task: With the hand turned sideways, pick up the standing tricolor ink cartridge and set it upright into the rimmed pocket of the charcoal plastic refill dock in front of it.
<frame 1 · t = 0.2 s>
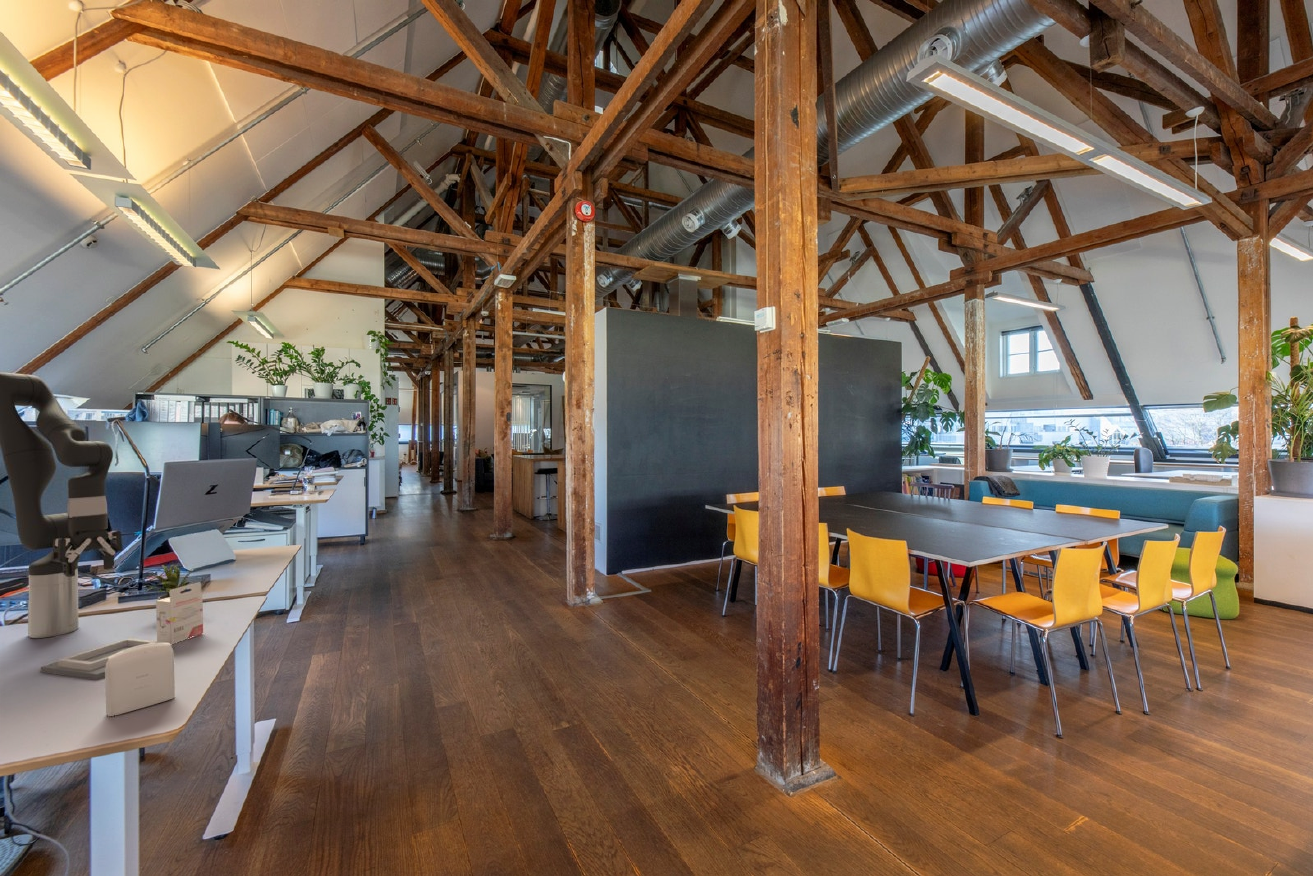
hand: (89, 572, 148), 18 cm above the table, tool pointing down, fingers open, 8 cm apart
house plant: (169, 616, 165), on the table
ink cartridge box: (180, 640, 146), on the table
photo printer: (141, 707, 110), on the table
refill dock: (110, 661, 132), on the table
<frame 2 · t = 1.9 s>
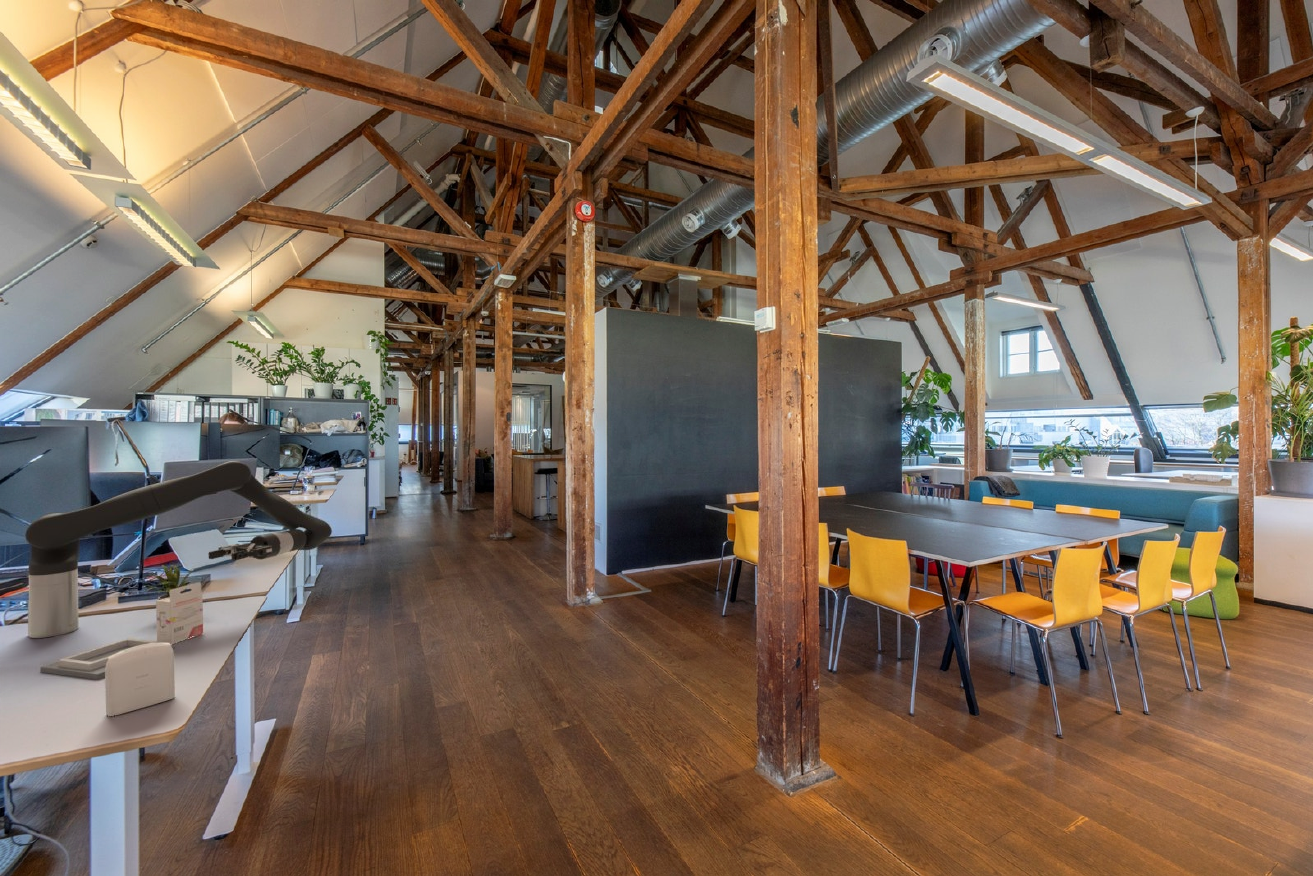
hand: (220, 556, 157), 20 cm above the table, tool horizontal, fingers open, 8 cm apart
nothing on the table moved.
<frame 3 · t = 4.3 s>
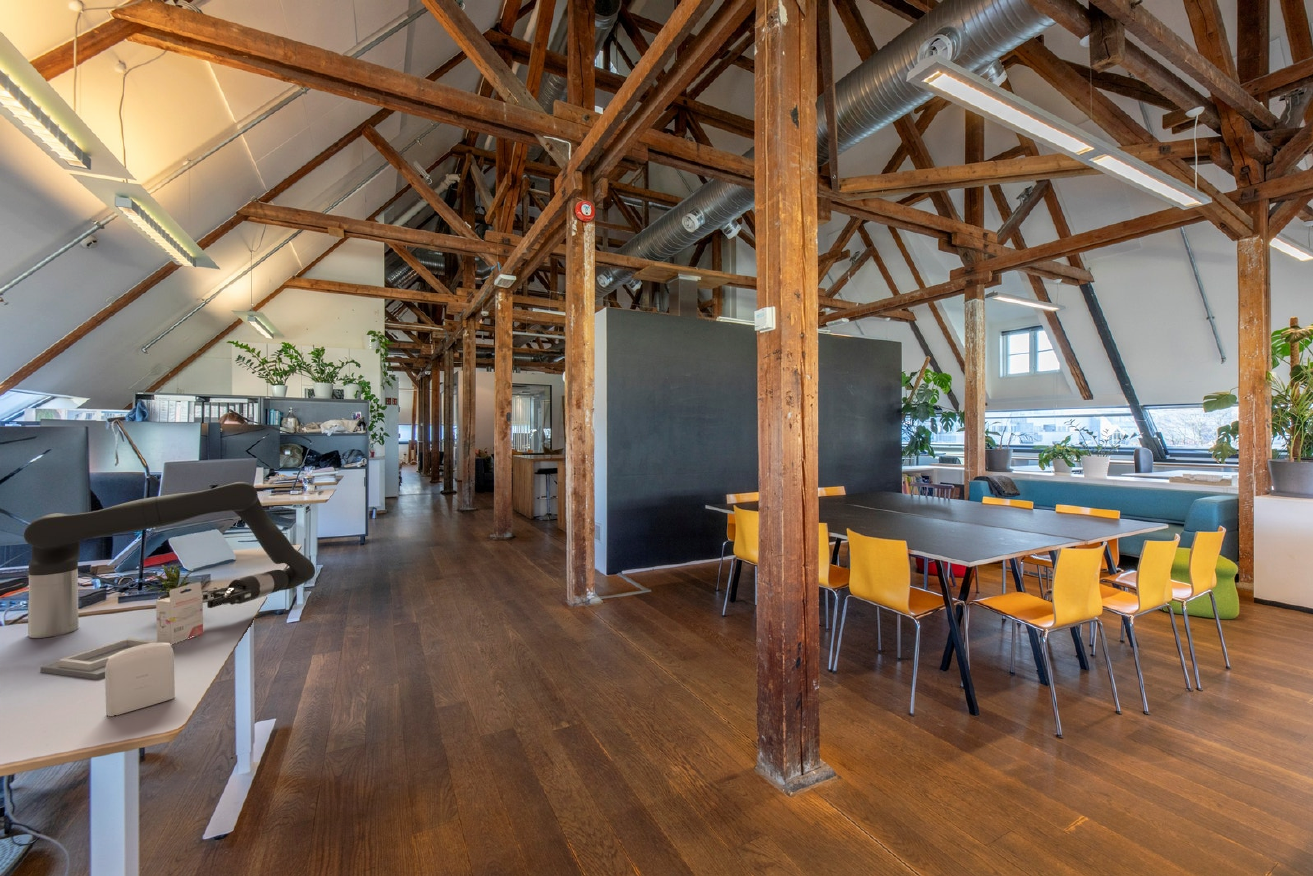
hand: (196, 603, 150), 8 cm above the table, tool horizontal, fingers open, 8 cm apart
nothing on the table moved.
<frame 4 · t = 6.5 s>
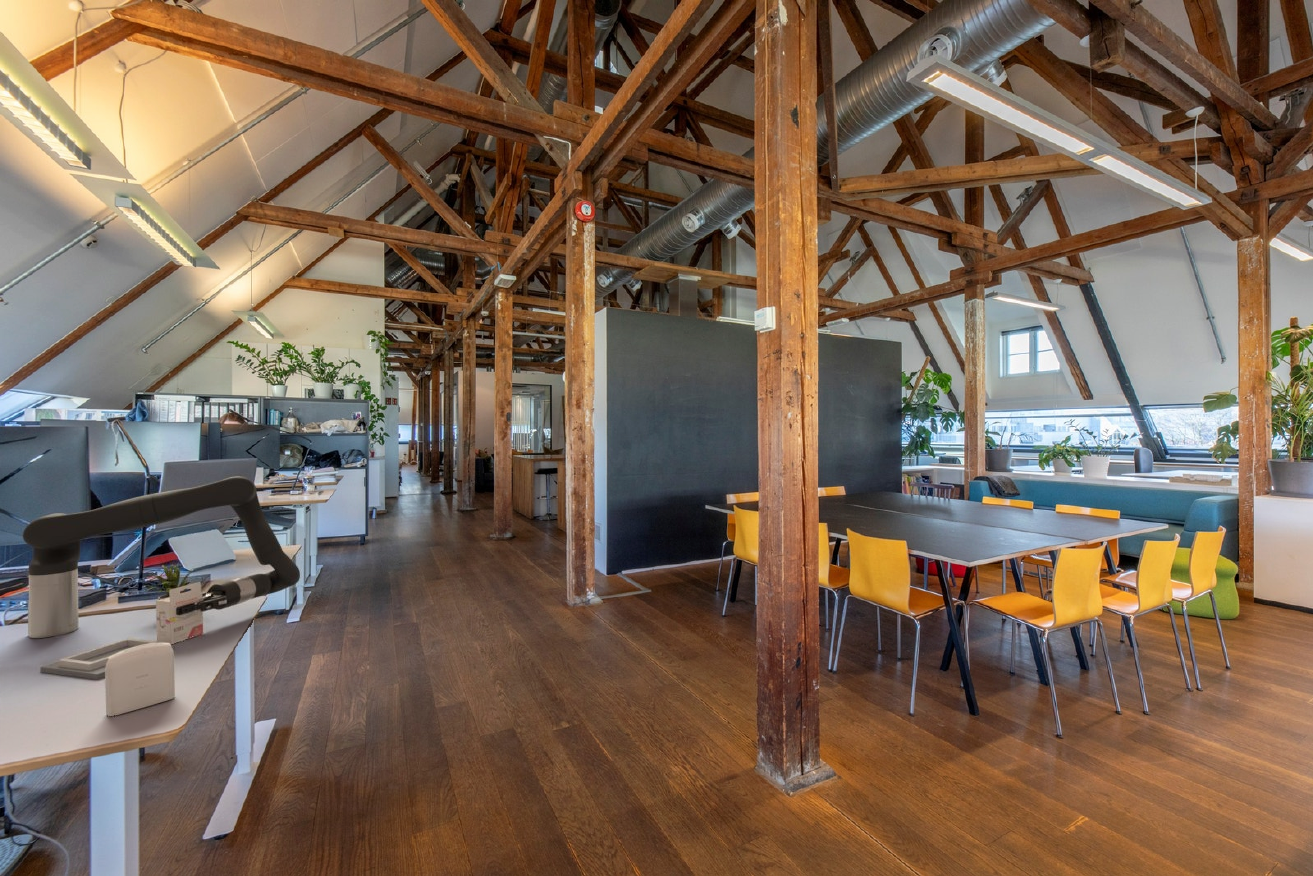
hand: (169, 610, 144), 9 cm above the table, tool horizontal, fingers closed on ink cartridge box, 5 cm apart
ink cartridge box: (180, 639, 146), on the table, touching gripper
everything else where it was.
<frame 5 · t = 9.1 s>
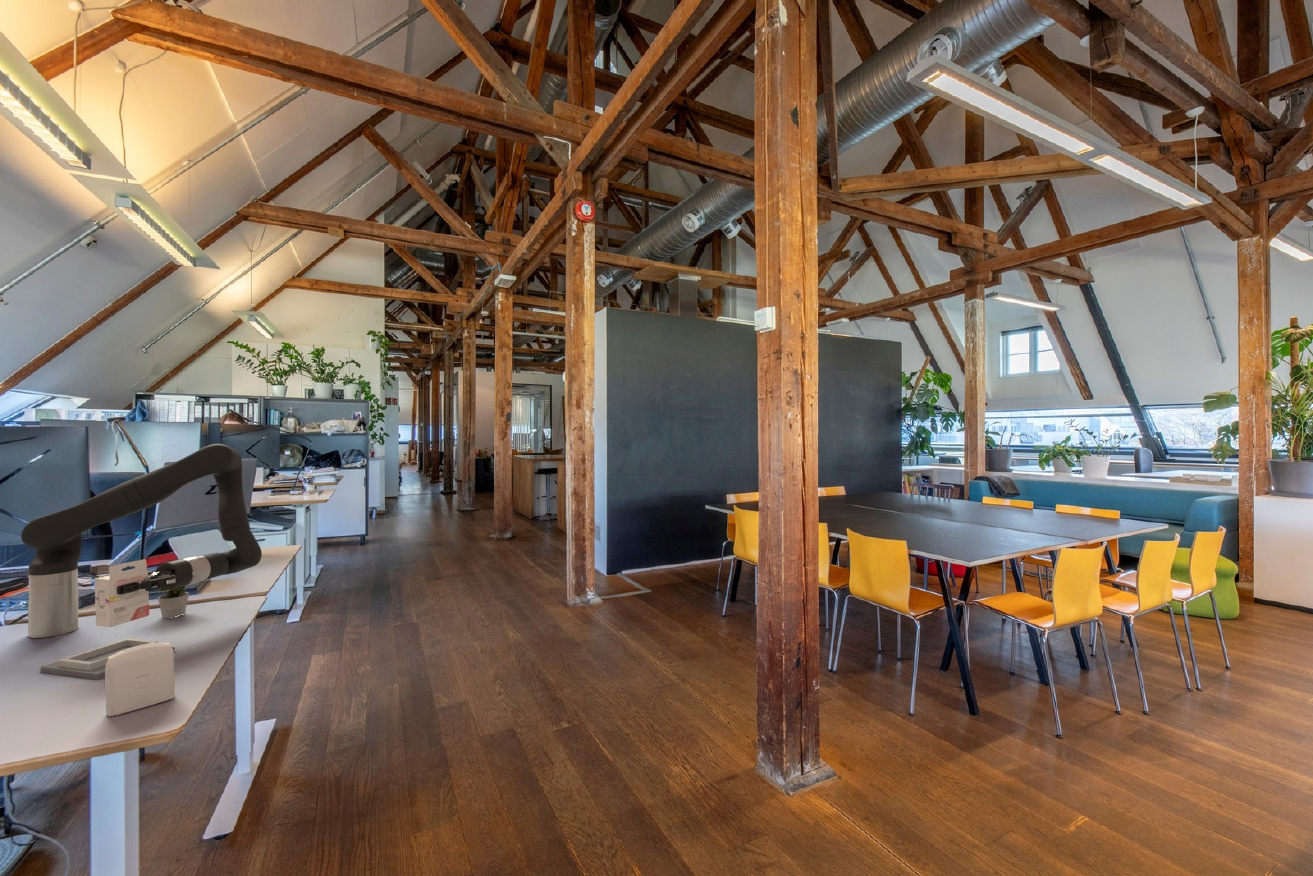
hand: (109, 589, 132), 18 cm above the table, tool horizontal, fingers closed on ink cartridge box, 5 cm apart
ink cartridge box: (122, 621, 134), point 9 cm above the table, touching gripper
everything else where it was.
when the fingers open (11 cm above the table, at t = 11.9 s): ink cartridge box stays where it is, resting on refill dock.
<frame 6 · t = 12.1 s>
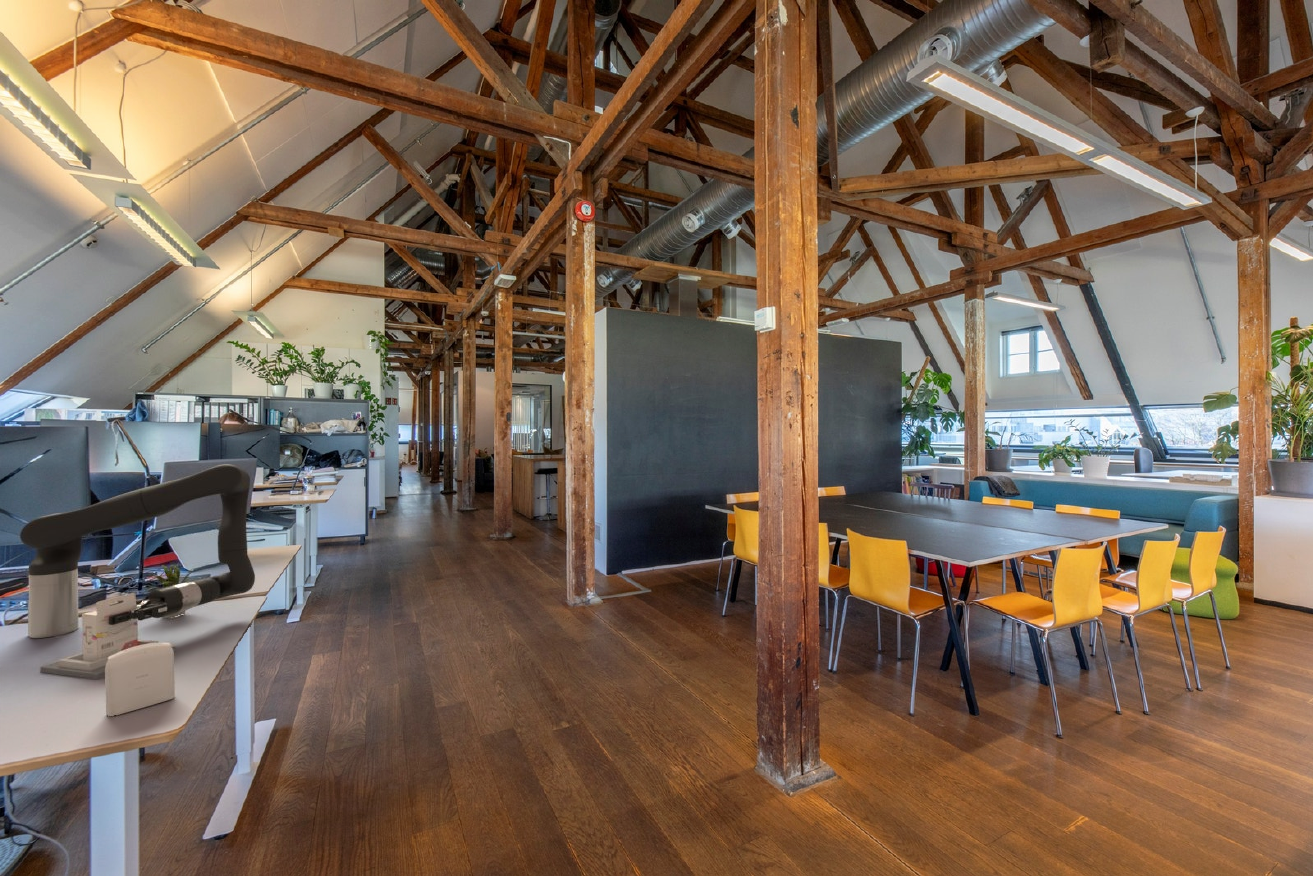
hand: (98, 619, 130), 11 cm above the table, tool horizontal, fingers open, 6 cm apart
ink cartridge box: (110, 657, 132), point 1 cm above the table, touching refill dock
everything else where it was.
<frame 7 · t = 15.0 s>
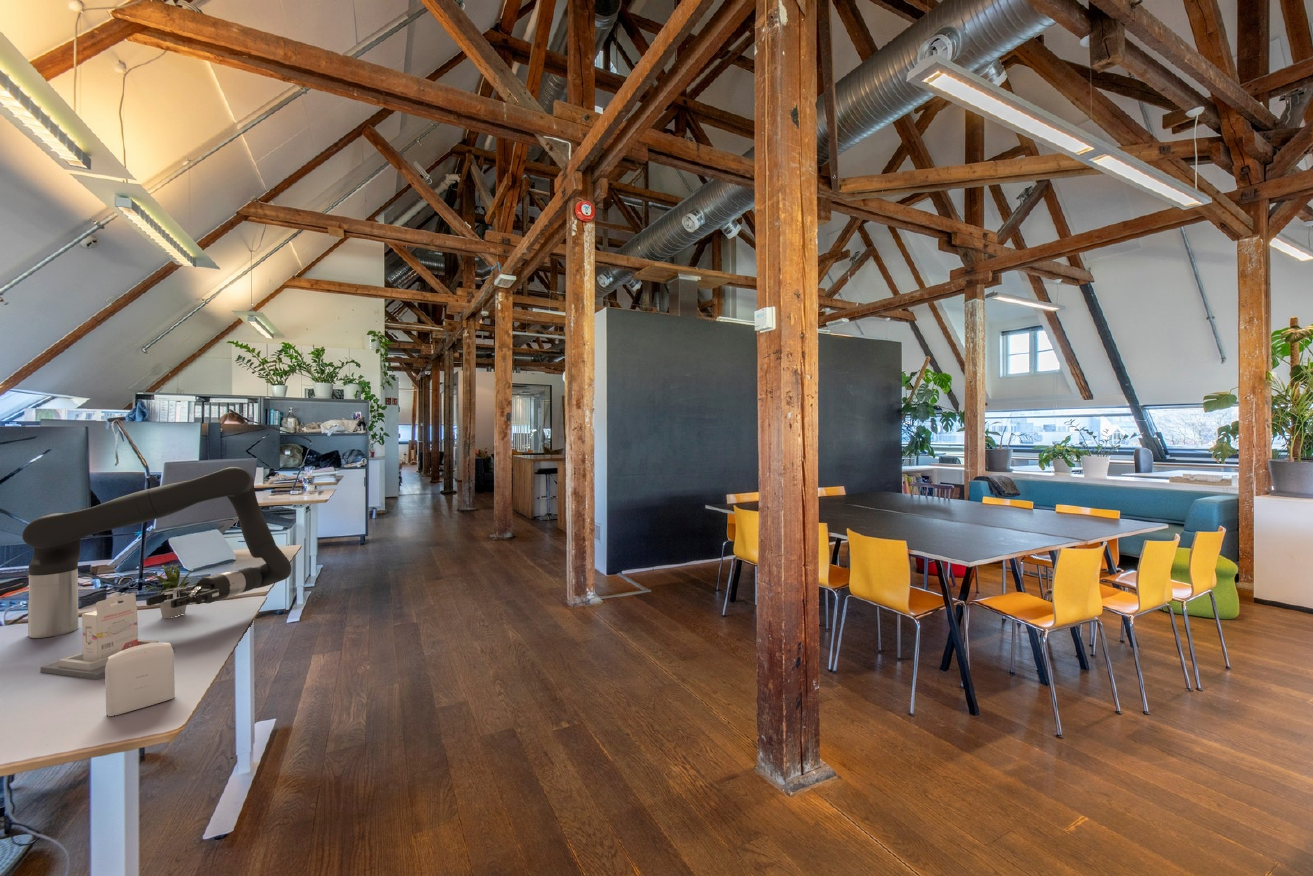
hand: (159, 603, 142), 11 cm above the table, tool horizontal, fingers open, 8 cm apart
nothing on the table moved.
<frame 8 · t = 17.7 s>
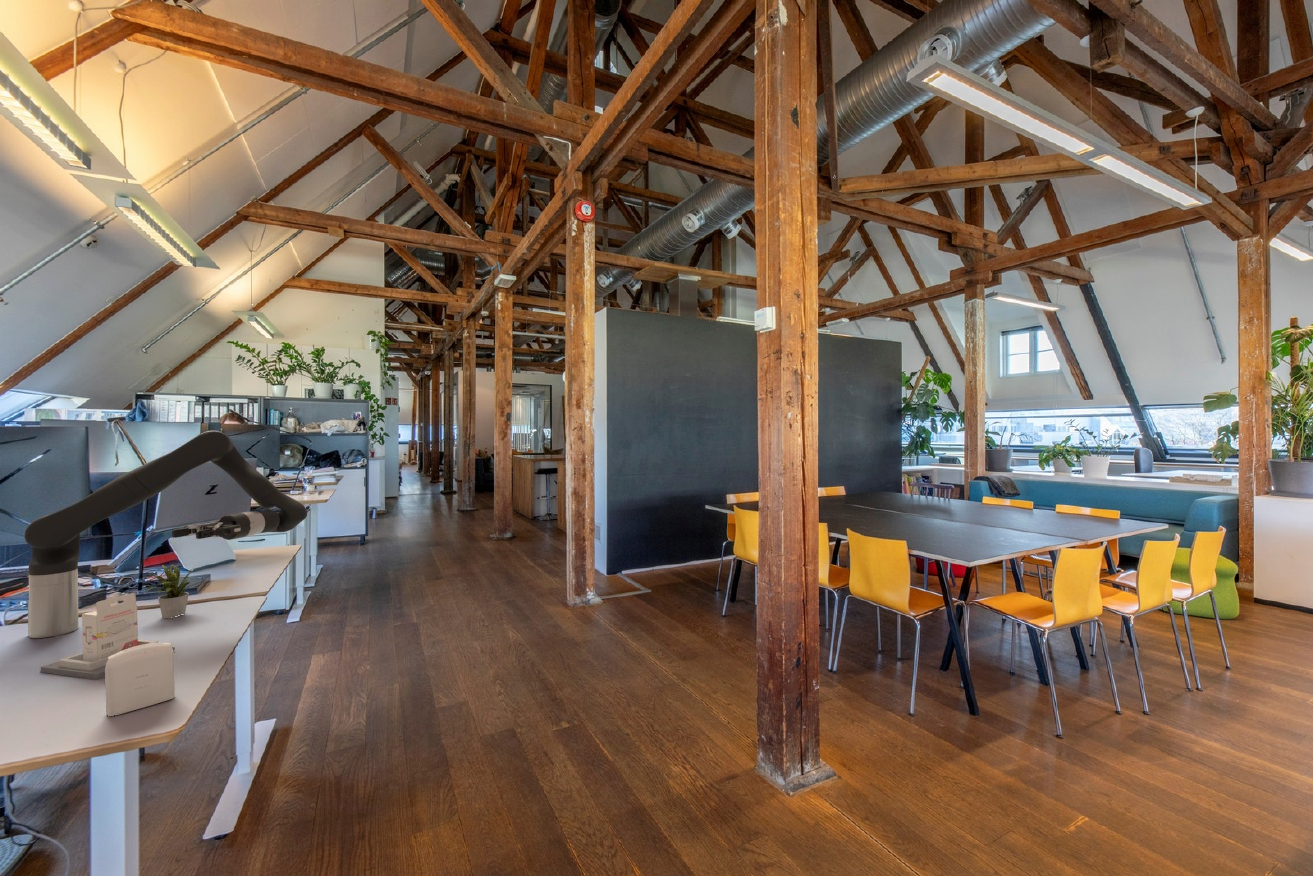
hand: (184, 534, 148), 28 cm above the table, tool horizontal, fingers open, 8 cm apart
nothing on the table moved.
at the end: ink cartridge box 0.1 cm off-centre on the refill dock, point 1.0 cm above the refill dock's base; ink cartridge box tilted 0°; the gripper is holding nothing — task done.
